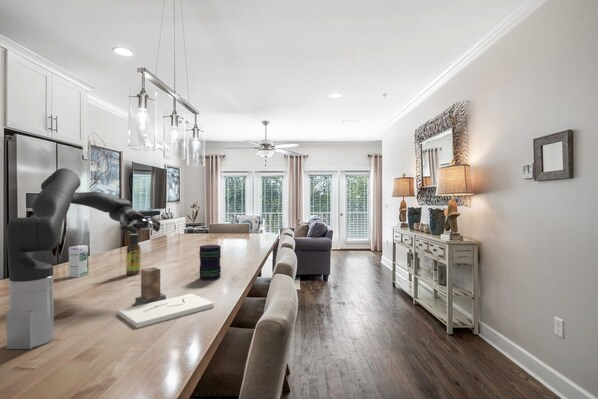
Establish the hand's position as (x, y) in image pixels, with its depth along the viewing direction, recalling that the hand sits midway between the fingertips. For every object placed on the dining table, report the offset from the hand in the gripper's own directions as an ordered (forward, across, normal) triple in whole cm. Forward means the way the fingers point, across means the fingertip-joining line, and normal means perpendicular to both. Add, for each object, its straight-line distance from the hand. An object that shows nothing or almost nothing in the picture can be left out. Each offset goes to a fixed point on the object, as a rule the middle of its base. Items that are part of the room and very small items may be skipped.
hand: (146, 230), depth 131 cm
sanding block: (+14, -3, +23) cm, 27 cm away
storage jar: (-3, +31, +28) cm, 42 cm away
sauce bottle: (-36, +7, +34) cm, 50 cm away
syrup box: (-50, -13, +37) cm, 64 cm away
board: (+28, -2, +20) cm, 34 cm away
